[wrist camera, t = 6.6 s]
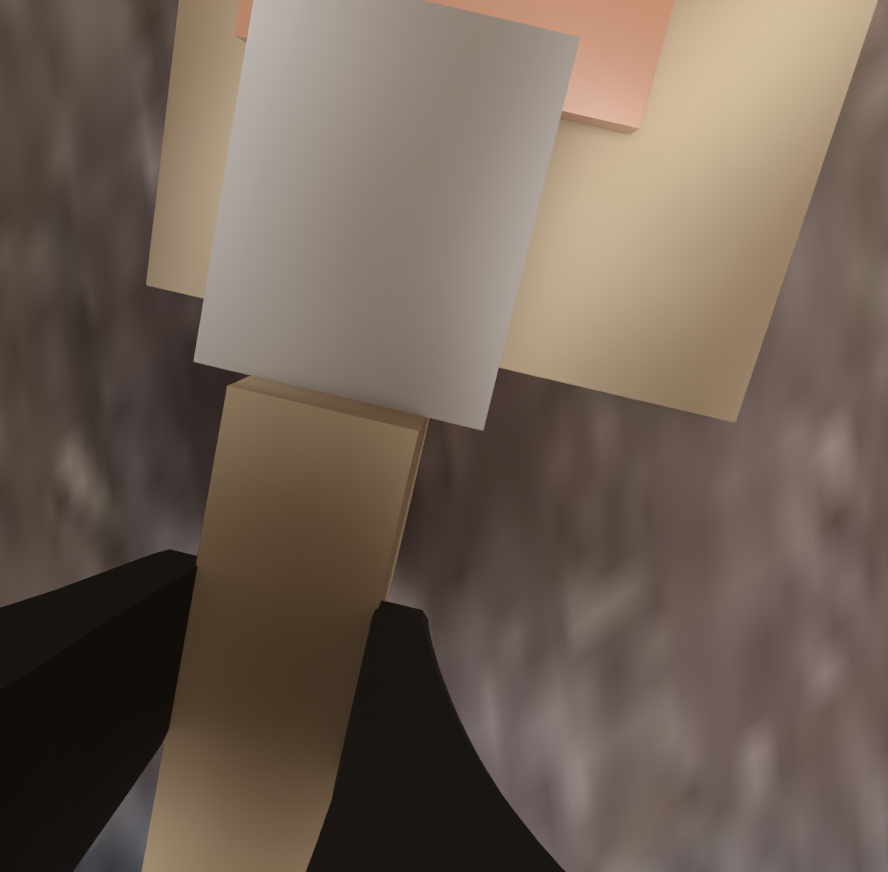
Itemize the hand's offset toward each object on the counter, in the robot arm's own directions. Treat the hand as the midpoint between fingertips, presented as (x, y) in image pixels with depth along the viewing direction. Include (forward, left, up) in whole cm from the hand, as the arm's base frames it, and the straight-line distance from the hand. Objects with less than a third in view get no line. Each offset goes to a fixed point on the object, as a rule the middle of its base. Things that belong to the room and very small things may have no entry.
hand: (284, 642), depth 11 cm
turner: (0, +1, -2) cm, 3 cm away
